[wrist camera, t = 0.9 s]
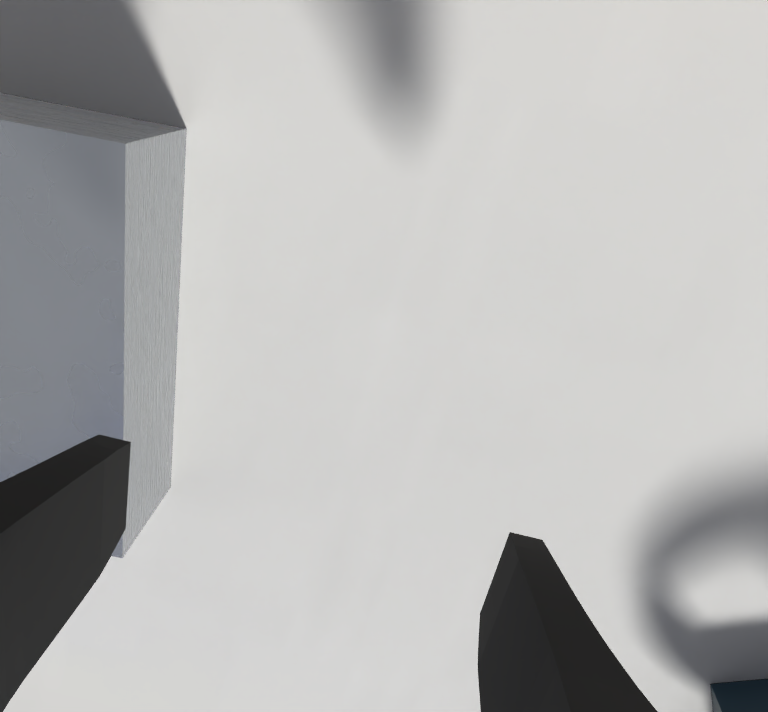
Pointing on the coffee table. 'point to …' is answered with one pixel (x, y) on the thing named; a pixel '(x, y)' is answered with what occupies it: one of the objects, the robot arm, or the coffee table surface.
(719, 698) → the watch
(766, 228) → the coffee table surface
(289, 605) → the coffee table surface
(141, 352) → the grey metal block
